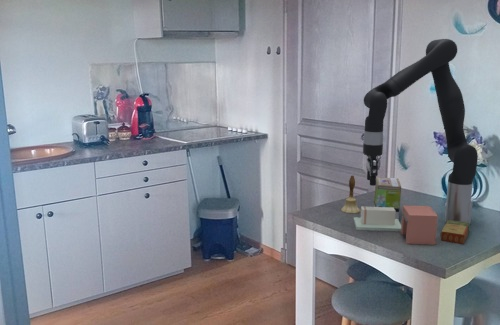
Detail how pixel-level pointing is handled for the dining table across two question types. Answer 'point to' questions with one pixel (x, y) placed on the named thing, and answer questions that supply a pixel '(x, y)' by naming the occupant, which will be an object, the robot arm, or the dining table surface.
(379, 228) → the stub board
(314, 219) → the dining table surface
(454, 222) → the carton
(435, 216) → the salmon pink box
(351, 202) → the hand bell
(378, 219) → the white pink-banded block
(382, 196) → the tea box
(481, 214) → the dining table surface
